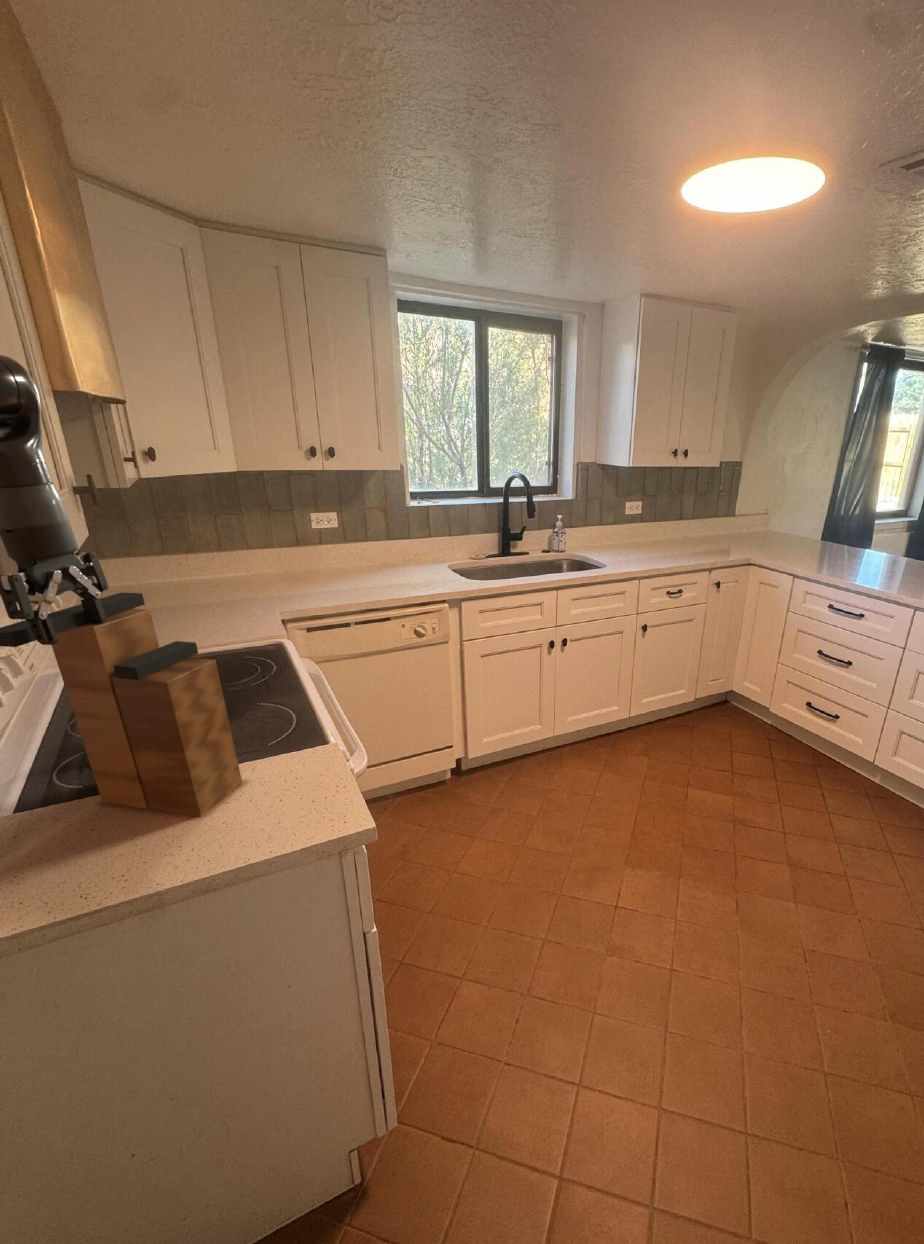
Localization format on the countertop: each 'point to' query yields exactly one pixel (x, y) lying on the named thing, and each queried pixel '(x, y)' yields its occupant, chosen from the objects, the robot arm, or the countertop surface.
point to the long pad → (69, 618)
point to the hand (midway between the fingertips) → (74, 632)
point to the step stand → (148, 719)
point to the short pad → (155, 660)
